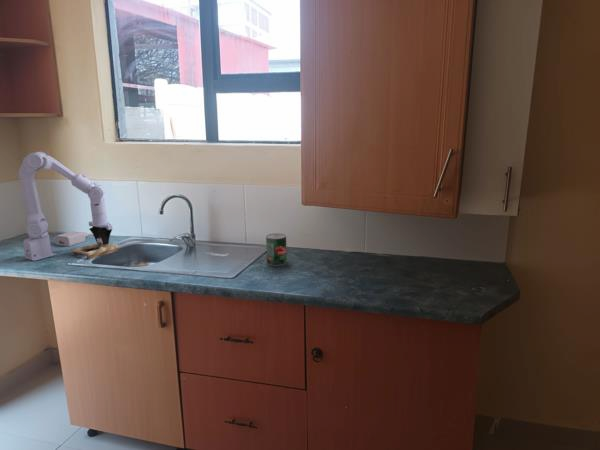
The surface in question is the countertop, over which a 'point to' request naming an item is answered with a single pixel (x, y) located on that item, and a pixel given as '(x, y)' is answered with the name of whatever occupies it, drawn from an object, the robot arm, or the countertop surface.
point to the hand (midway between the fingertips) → (102, 243)
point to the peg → (100, 242)
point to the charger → (70, 238)
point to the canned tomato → (276, 249)
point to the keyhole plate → (95, 250)
